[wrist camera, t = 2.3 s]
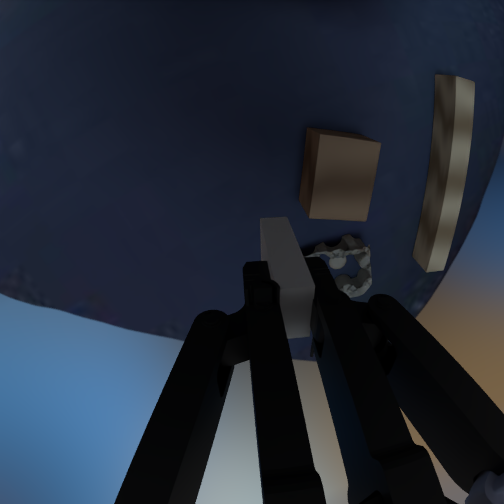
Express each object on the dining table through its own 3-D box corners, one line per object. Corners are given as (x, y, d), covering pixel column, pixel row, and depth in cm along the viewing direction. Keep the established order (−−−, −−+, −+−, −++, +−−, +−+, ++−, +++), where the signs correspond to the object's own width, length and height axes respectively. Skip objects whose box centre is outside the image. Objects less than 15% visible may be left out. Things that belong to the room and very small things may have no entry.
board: (435, 74, 25) (456, 76, 22) (453, 79, 25) (474, 82, 22) (412, 256, 37) (426, 272, 34) (428, 254, 37) (443, 270, 34)
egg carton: (361, 227, 35) (374, 243, 32) (365, 276, 39) (376, 295, 35) (276, 251, 36) (281, 270, 32) (289, 299, 40) (294, 320, 36)
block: (306, 127, 29) (320, 134, 24) (360, 134, 29) (380, 143, 25) (298, 199, 33) (309, 218, 28) (349, 203, 33) (365, 221, 29)
